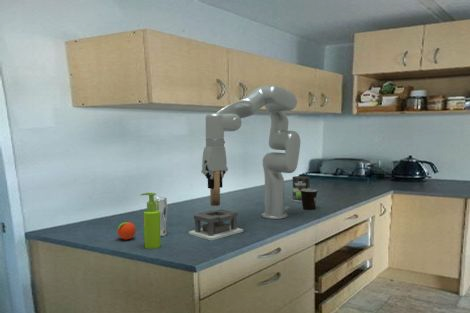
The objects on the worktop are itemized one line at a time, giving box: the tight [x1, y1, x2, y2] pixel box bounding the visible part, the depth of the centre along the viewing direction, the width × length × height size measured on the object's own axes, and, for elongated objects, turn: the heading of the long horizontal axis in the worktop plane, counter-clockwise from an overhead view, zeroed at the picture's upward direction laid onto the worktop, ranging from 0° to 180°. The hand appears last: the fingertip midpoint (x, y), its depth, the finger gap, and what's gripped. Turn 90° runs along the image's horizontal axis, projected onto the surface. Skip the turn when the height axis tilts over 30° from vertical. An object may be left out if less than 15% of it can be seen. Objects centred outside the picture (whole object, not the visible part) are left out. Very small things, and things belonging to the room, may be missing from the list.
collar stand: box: [188, 208, 244, 241], centre depth 161 cm, size 18×14×8 cm
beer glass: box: [154, 197, 168, 237], centre depth 158 cm, size 7×7×15 cm
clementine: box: [116, 221, 137, 240], centre depth 152 cm, size 8×7×7 cm
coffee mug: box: [301, 188, 318, 211], centre depth 206 cm, size 12×9×10 cm
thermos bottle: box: [209, 170, 221, 207], centre depth 160 cm, size 4×4×18 cm
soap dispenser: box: [140, 192, 162, 250], centre depth 143 cm, size 6×7×20 cm
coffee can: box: [291, 175, 311, 203], centre depth 232 cm, size 10×10×14 cm
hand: (215, 187), depth 160 cm, fingers closed on thermos bottle, 4 cm apart
